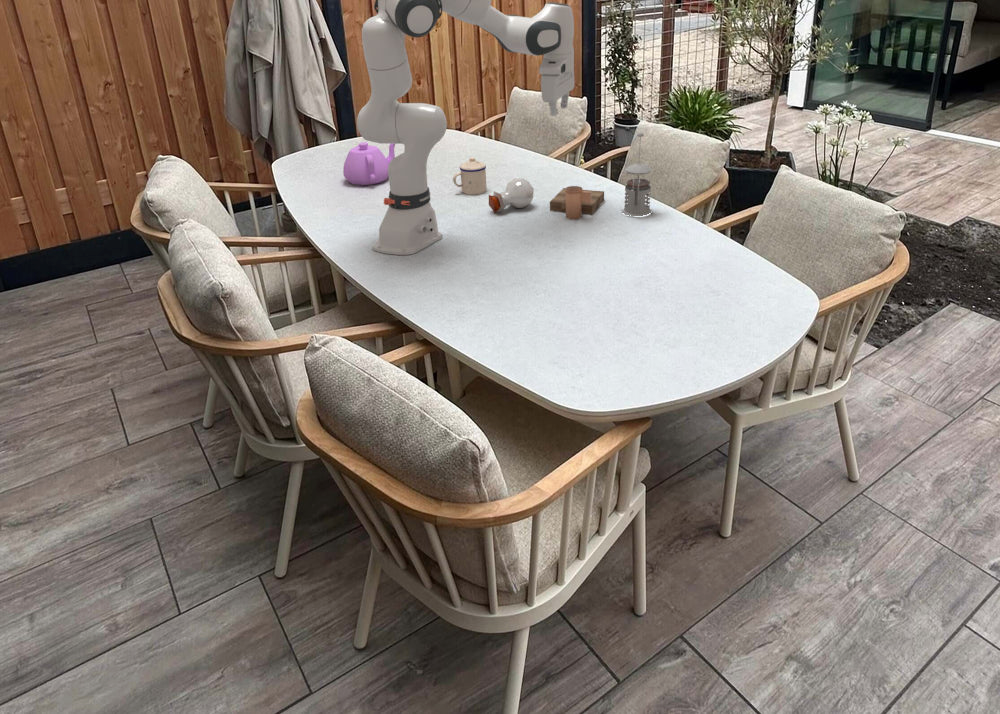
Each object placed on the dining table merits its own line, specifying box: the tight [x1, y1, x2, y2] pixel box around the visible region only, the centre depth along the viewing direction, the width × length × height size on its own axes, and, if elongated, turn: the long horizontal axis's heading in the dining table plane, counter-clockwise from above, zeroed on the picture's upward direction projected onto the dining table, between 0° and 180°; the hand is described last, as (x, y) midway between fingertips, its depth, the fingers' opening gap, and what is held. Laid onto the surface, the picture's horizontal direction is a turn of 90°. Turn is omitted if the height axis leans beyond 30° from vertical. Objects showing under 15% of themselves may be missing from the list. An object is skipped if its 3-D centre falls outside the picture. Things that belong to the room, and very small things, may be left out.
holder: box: [549, 187, 605, 216], centre depth 248 cm, size 14×14×3 cm
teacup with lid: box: [452, 156, 487, 196], centre depth 263 cm, size 12×9×12 cm
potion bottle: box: [488, 178, 535, 214], centre depth 247 cm, size 9×10×15 cm
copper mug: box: [564, 185, 593, 220], centre depth 237 cm, size 8×5×9 cm, turn 68°
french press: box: [621, 131, 653, 216], centre depth 234 cm, size 10×12×25 cm
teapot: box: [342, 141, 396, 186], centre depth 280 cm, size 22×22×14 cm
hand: (559, 111), depth 229 cm, fingers open, 8 cm apart
